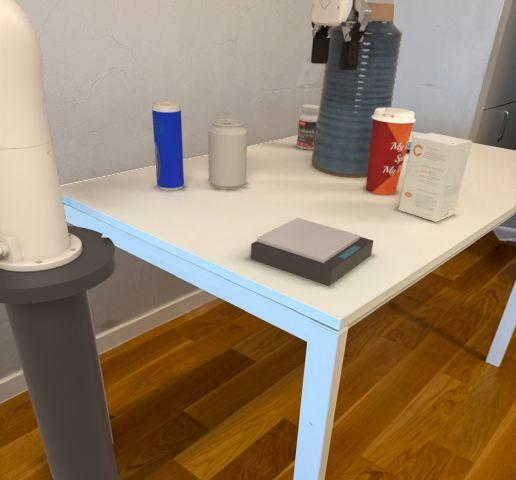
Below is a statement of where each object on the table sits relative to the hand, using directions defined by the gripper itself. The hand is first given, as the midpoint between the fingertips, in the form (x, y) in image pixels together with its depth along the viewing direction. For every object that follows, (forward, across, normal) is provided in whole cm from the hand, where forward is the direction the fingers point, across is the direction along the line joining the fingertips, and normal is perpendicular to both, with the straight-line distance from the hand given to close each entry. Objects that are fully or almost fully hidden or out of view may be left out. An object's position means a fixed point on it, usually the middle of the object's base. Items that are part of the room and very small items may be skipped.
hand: (332, 66), depth 87 cm
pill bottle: (+22, -36, +16) cm, 45 cm away
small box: (+22, +15, +14) cm, 30 cm away
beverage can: (+22, -12, -27) cm, 37 cm away
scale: (+22, +26, -15) cm, 38 cm away
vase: (+22, -15, +16) cm, 31 cm away
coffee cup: (+22, +1, +14) cm, 26 cm away
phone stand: (+22, -28, +38) cm, 52 cm away
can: (+22, -10, -15) cm, 29 cm away
